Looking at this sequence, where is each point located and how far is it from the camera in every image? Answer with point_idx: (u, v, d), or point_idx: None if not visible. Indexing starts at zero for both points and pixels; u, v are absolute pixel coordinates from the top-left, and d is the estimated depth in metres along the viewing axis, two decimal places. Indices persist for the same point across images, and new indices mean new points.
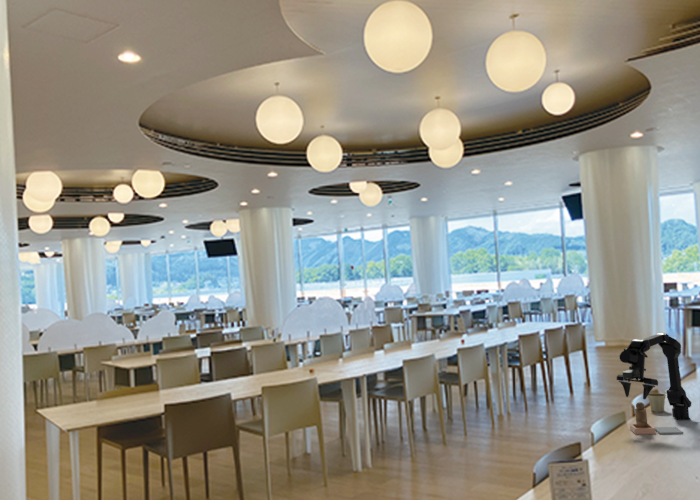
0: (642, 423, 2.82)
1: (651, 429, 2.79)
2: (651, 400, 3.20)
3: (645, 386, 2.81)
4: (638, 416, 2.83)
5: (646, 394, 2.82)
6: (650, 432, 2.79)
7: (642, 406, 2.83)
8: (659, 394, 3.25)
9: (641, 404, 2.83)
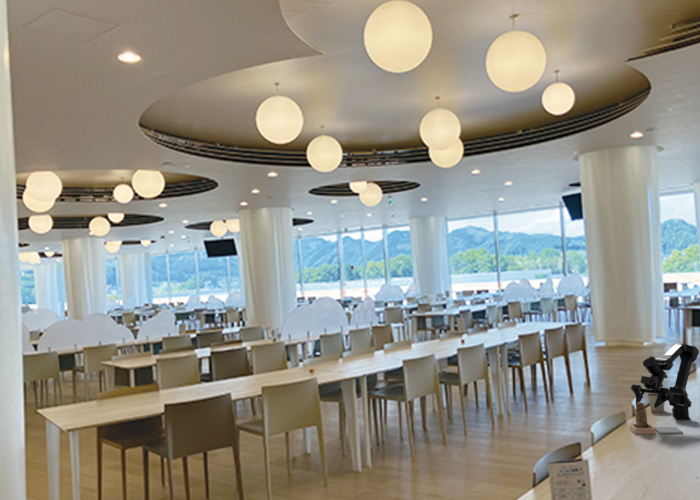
0: (642, 423, 2.82)
1: (651, 429, 2.79)
2: (651, 400, 3.20)
3: (660, 394, 2.83)
4: (638, 416, 2.83)
5: (658, 403, 2.83)
6: (650, 432, 2.79)
7: (642, 406, 2.83)
8: None
9: (641, 404, 2.83)
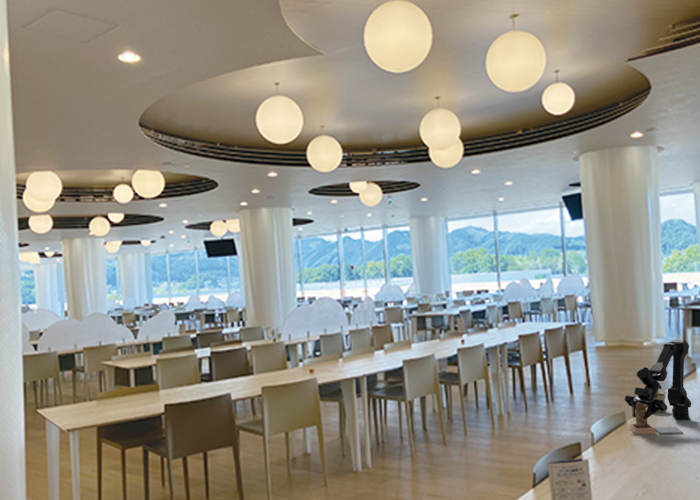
0: (642, 423, 2.82)
1: (651, 429, 2.79)
2: None
3: (650, 405, 2.82)
4: (638, 416, 2.83)
5: (648, 414, 2.82)
6: (650, 432, 2.79)
7: (642, 406, 2.83)
8: (659, 394, 3.25)
9: (641, 404, 2.83)
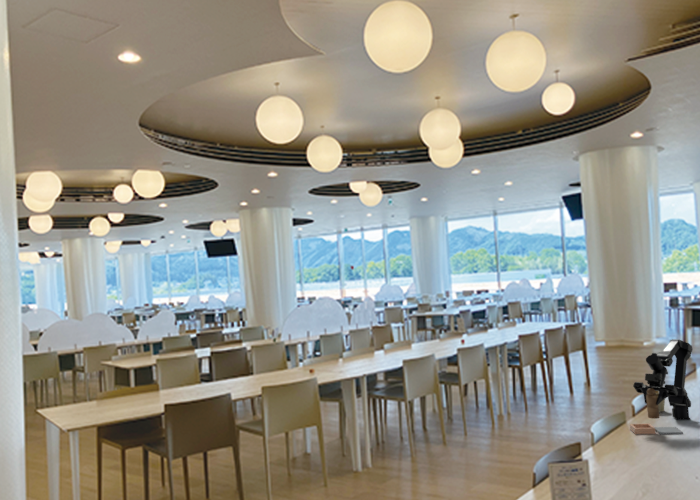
0: (654, 409, 2.80)
1: (651, 429, 2.79)
2: None
3: (661, 391, 2.81)
4: (650, 402, 2.81)
5: (660, 400, 2.81)
6: (650, 432, 2.79)
7: (654, 392, 2.81)
8: None
9: (652, 390, 2.82)
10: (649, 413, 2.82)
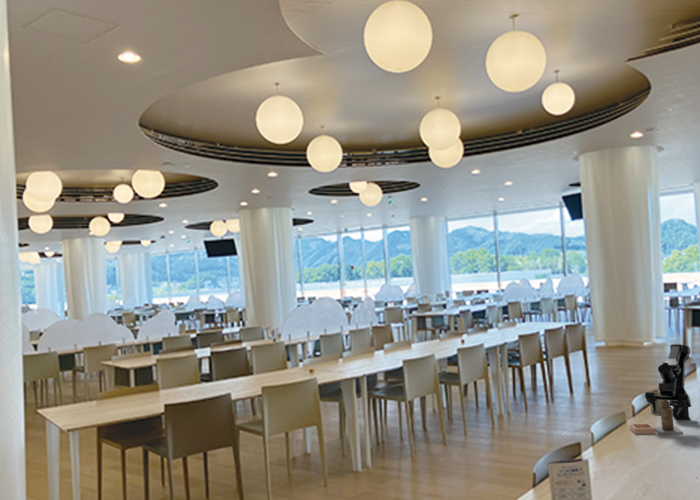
0: (670, 421, 2.79)
1: (651, 429, 2.79)
2: None
3: (680, 401, 2.78)
4: (666, 414, 2.79)
5: (679, 410, 2.78)
6: (650, 432, 2.79)
7: (669, 404, 2.80)
8: (659, 394, 3.25)
9: (667, 402, 2.80)
10: (664, 425, 2.80)
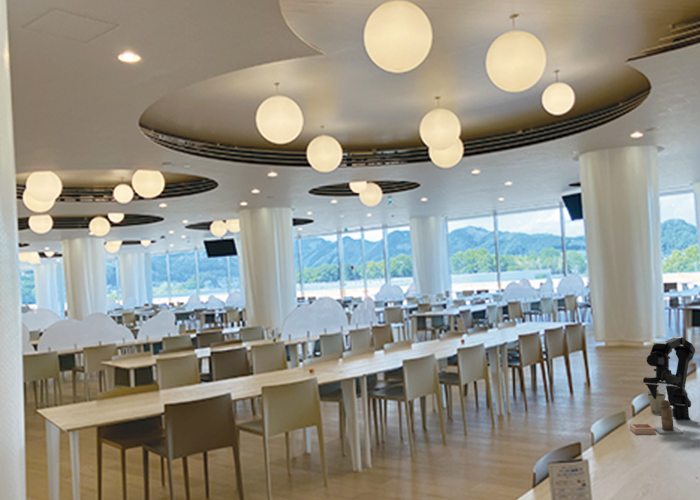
0: (670, 421, 2.79)
1: (651, 429, 2.79)
2: (651, 400, 3.20)
3: (676, 388, 2.93)
4: (666, 414, 2.79)
5: None
6: (650, 432, 2.79)
7: (669, 404, 2.80)
8: (659, 394, 3.25)
9: (667, 402, 2.80)
10: (664, 425, 2.80)
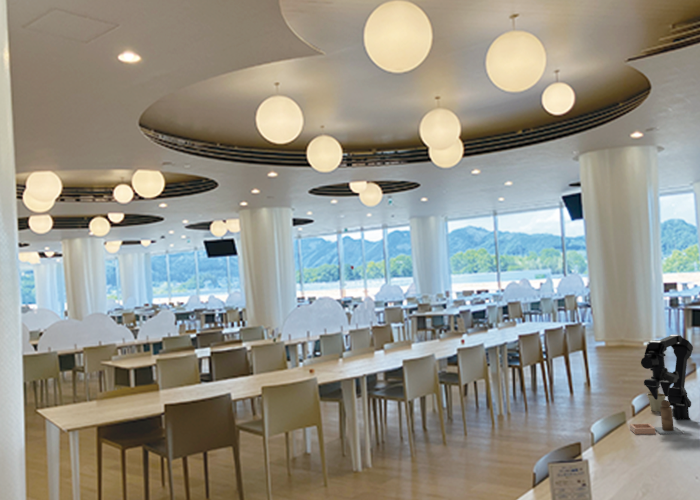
0: (670, 421, 2.79)
1: (651, 429, 2.79)
2: (651, 400, 3.20)
3: None
4: (666, 414, 2.79)
5: None
6: (650, 432, 2.79)
7: (669, 404, 2.80)
8: (659, 394, 3.25)
9: (667, 402, 2.80)
10: (664, 425, 2.80)
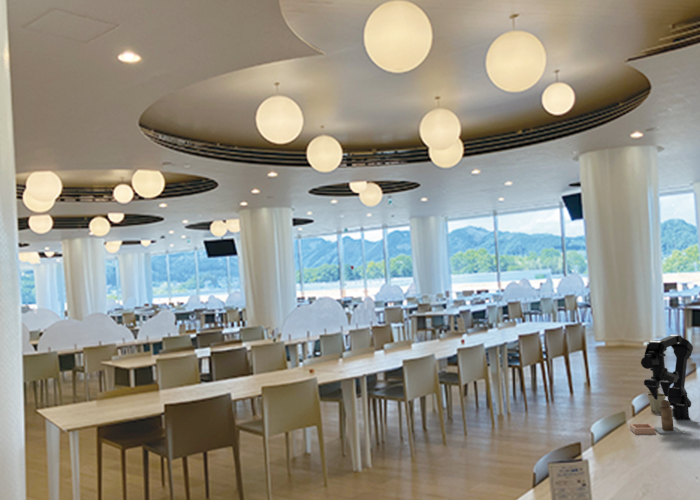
0: (670, 421, 2.79)
1: (651, 429, 2.79)
2: (651, 400, 3.20)
3: None
4: (666, 414, 2.79)
5: None
6: (650, 432, 2.79)
7: (669, 404, 2.80)
8: (659, 394, 3.25)
9: (667, 402, 2.80)
10: (664, 425, 2.80)
